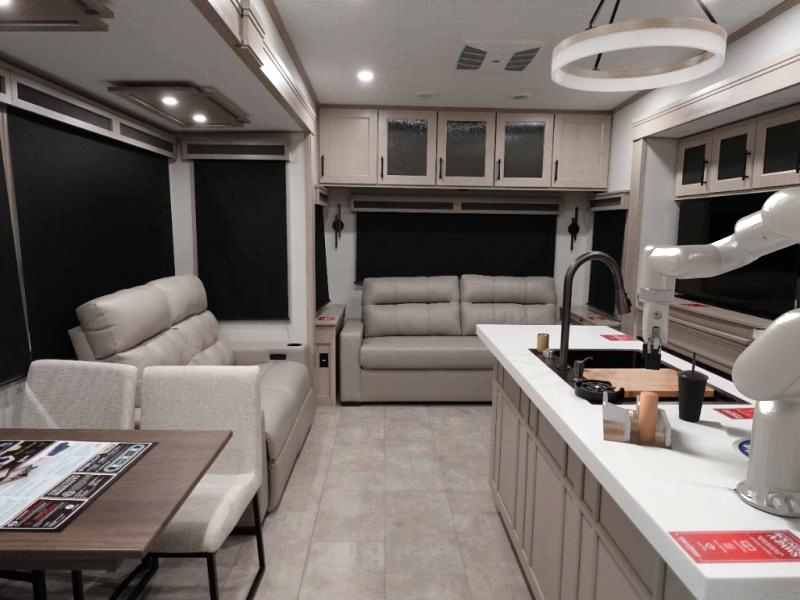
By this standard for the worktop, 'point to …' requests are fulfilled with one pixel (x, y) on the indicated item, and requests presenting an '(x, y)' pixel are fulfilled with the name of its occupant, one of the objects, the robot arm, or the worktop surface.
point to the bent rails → (623, 419)
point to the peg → (647, 417)
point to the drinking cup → (691, 393)
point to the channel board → (617, 433)
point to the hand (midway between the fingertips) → (650, 364)
